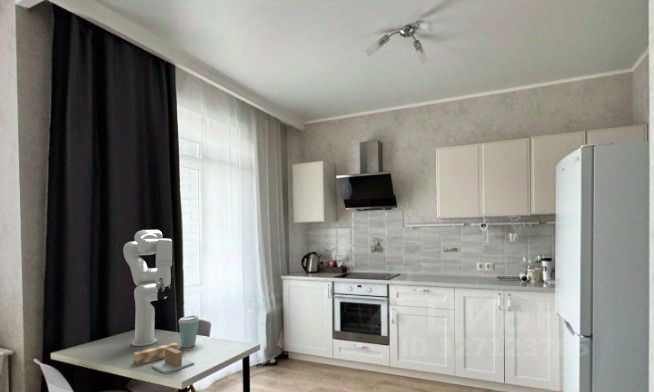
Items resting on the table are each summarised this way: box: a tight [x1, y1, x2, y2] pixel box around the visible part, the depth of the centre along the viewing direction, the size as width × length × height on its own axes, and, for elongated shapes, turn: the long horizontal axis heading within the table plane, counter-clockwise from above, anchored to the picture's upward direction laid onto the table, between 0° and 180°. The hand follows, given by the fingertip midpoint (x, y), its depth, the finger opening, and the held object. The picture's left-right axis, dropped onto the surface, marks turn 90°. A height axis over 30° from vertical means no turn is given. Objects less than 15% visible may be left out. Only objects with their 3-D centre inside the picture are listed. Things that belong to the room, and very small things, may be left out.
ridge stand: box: [151, 347, 195, 375], centre depth 175 cm, size 12×14×7 cm
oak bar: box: [133, 342, 180, 366], centre depth 185 cm, size 20×4×5 cm, turn 139°
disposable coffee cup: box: [178, 314, 200, 348], centre depth 205 cm, size 11×11×15 cm
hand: (163, 298), depth 191 cm, fingers open, 9 cm apart
